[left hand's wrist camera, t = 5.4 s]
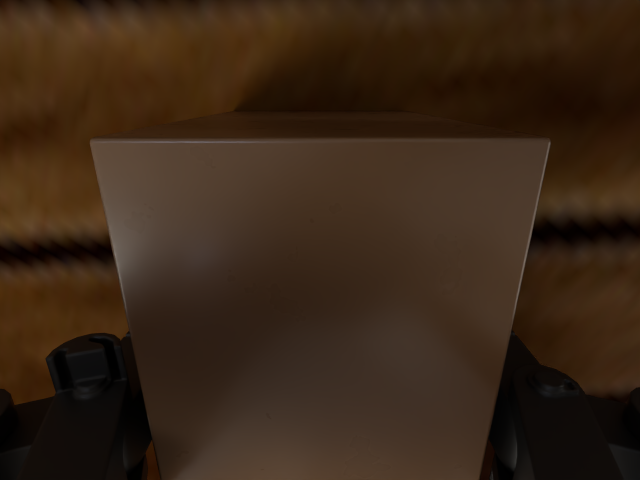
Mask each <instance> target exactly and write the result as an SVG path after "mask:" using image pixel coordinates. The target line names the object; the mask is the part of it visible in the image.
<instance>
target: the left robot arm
mask: <svg viewBox="0 0 640 480" xmlns="http://www.w3.org/2000/svg"><path fill="white" fill-rule="evenodd" d="M46 362H47V365H48V368H49V372H50V375H51V378H52V381H53V384H54V388H55V391H56V394H55V396H53V397H50V398H45V399H41V400H36V401H32V402H27V403H23V404H18V405H14V402H13V399H12V397H11V394H10V393H9V392H7V391H6V390H5V389H0V480H147V473H148V465H147V459H146V454H145V452H146V450H147V448H148V446H149V444H150V442H151V440H152V436H151V431H150V427H149V422H148V417H147V412H146V408H145V403H144V398H143V393H142V389H141V384H140V379H139V374H138V370H137V365H136V360H135V355H134V351H133V346H132V341H131V336H130V332H129V331H128V332H127V334H126V337H123V339H122V340H121V341H120V339H119V338H117V337H116V336H115V335H112V334H107V333H94V334H88V335H84V336H80V337H77V338H74V339H72V340H70V341H67V342H65V343H63V344H62V345H60V346H59V347H57V348H56V349H54V350H53V351H52V352H51V353H50V354H49V355H48V356H47V358H46ZM489 440H490V442H491V444H492V446H493V448H494V450H495V454H494V459H493V463H492V468H491V472H490V477H489V480H640V387H638V388H636V389H634V390H633V391H632V392H630V395H629V398H628V400H627V403H621V402H616V401H612V400H607V399H602V398H598V397H593V396H590V395H586V394H585V393H584V391H583V390H582V388H581V387H580V386H579V384H578V383H577V382H575V381H574V380H573V379H572V378H570V377H569V376H568V375H566V374H564V373H562V372H560V371H558V370H556V369H554V368H550V367H547V366H543V365H540V364H539V362H538V361H537V360H536V359H535V357H534V356H533V355H532V354H531V353H530V351H529V350H528V349H527V348H526V346H525V345H524V344H523V343H522V342H521V340H520V339H519V338H518V337H517V336H515V333H514V332H513V331H512V329H511V334H510V339H509V344H508V348H507V353H506V358H505V363H504V367H503V372H502V377H501V381H500V386H499V391H498V396H497V400H496V405H495V410H494V415H493V419H492V424H491V429H490V434H489Z"/></svg>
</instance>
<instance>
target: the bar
mask: <svg viewBox="0 0 640 480" xmlns="http://www.w3.org/2000/svg"><path fill="white" fill-rule="evenodd" d="M550 145H551V141H550V139H549V138H547V137H542V136H537V135H532V134H526V133H521V132H515V131H510V130H505V129H499V128H494V127H489V126H483V125H478V124H473V123H467V122H462V121H457V120H451V119H446V118H441V117H435V116H430V115H424V114H419V113H414V112H408V111H232V112H226V113H221V114H216V115H210V116H205V117H200V118H194V119H189V120H184V121H178V122H173V123H168V124H162V125H157V126H152V127H146V128H141V129H136V130H130V131H125V132H120V133H114V134H109V135H103V136H98V137H94V138H92V139H91V140H90V146H91V151H92V156H93V160H94V165H95V170H96V175H97V179H98V184H99V189H100V194H101V198H102V203H103V208H104V213H105V217H106V222H107V227H108V232H109V236H110V241H111V246H112V251H113V255H114V260H115V265H116V270H117V274H118V279H119V284H120V289H121V293H122V298H123V303H124V308H125V312H126V317H127V322H128V327H129V332H130V336H131V341H132V346H133V351H134V355H135V360H136V365H137V370H138V374H139V379H140V384H141V389H142V393H143V398H144V403H145V408H146V412H147V417H148V422H149V427H150V431H151V436H152V441H153V446H154V450H155V455H156V460H157V465H158V469H159V474H160V479H161V480H480V476H481V471H482V467H483V462H484V457H485V452H486V448H487V443H488V438H489V434H490V429H491V424H492V419H493V415H494V410H495V405H496V400H497V396H498V391H499V386H500V381H501V377H502V372H503V367H504V363H505V358H506V353H507V348H508V344H509V339H510V334H511V329H512V325H513V320H514V315H515V310H516V306H517V301H518V296H519V292H520V287H521V282H522V277H523V273H524V268H525V263H526V258H527V254H528V249H529V244H530V239H531V235H532V230H533V225H534V221H535V216H536V211H537V206H538V202H539V197H540V192H541V187H542V183H543V178H544V173H545V168H546V164H547V159H548V154H549V150H550Z"/></svg>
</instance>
